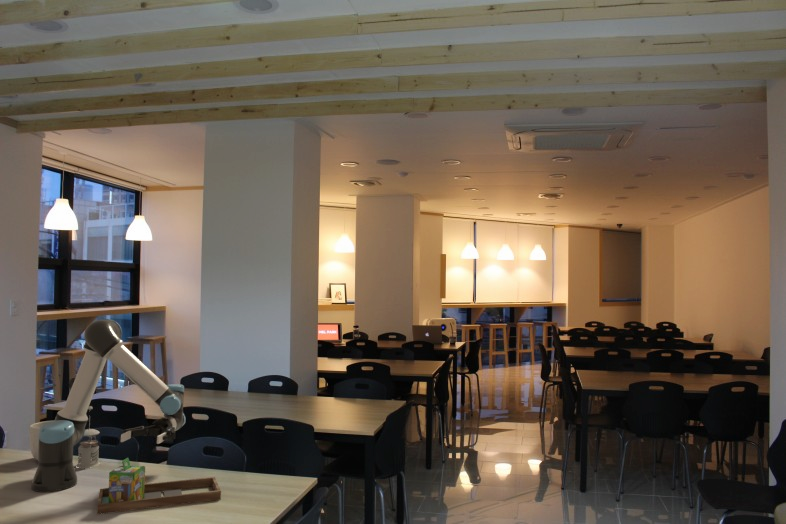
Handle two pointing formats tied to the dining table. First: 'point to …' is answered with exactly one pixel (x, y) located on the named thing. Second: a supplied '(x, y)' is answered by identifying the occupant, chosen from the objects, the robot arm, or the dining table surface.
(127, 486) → the chalk box
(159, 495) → the mats
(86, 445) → the french press
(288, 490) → the dining table surface
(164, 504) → the brown wooden tray
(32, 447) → the planter
